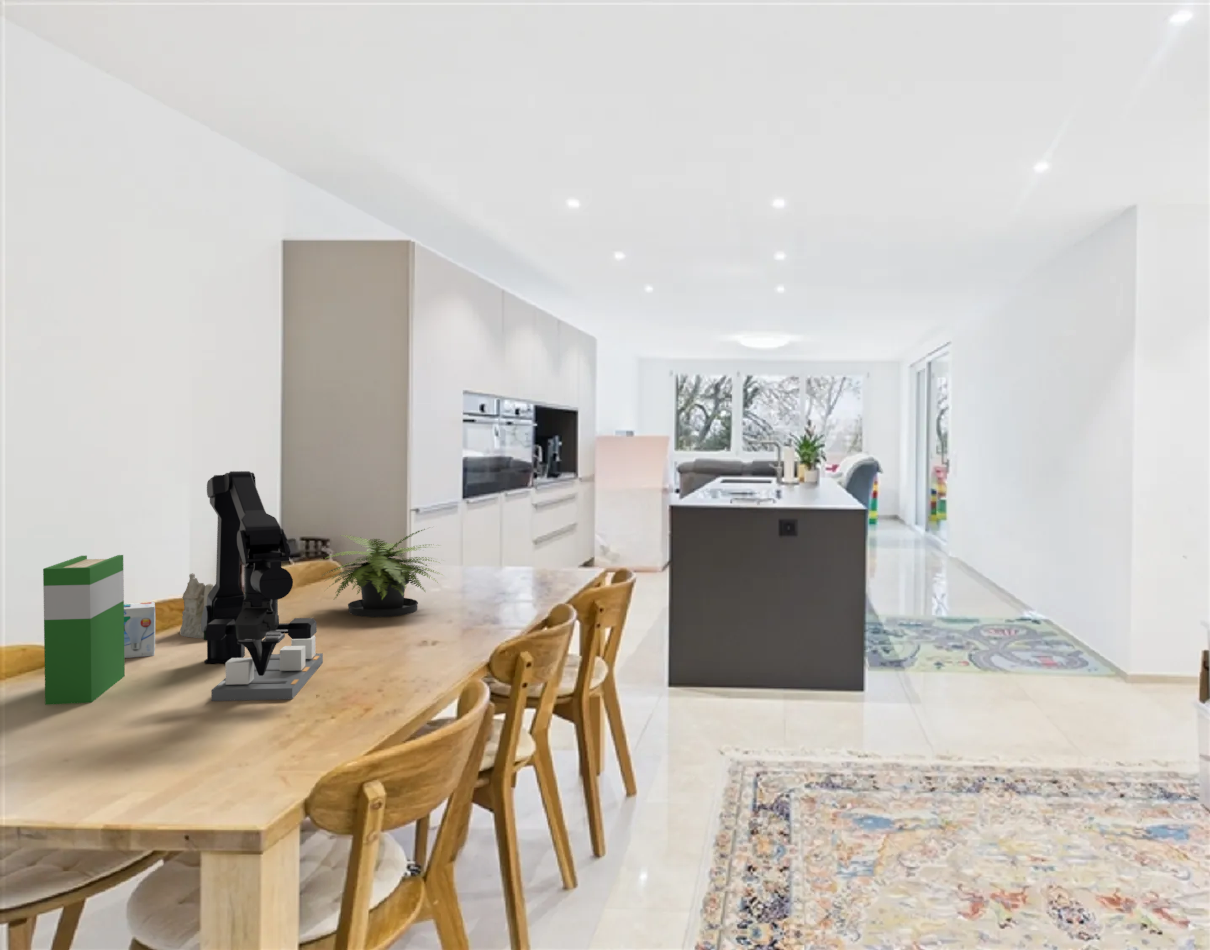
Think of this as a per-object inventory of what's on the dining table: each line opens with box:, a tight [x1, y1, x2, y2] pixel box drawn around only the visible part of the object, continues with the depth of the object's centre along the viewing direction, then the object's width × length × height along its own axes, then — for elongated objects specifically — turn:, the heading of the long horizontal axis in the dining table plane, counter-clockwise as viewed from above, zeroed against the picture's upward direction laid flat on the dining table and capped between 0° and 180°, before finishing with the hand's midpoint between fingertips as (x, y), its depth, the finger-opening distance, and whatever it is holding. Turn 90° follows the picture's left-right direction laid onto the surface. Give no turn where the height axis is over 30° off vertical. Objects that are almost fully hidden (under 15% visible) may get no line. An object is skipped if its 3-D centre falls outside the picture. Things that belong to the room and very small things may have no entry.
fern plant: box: [318, 526, 445, 618], centre depth 240 cm, size 37×39×24 cm
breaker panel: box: [210, 652, 324, 702], centre depth 170 cm, size 14×26×2 cm, turn 6°
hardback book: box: [42, 554, 126, 706], centre depth 162 cm, size 18×7×24 cm, turn 12°
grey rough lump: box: [179, 573, 214, 640], centre depth 213 cm, size 16×16×15 cm
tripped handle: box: [225, 657, 254, 685], centre depth 160 cm, size 4×4×4 cm
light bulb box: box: [124, 601, 156, 659], centre depth 189 cm, size 11×7×11 cm, turn 117°
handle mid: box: [279, 645, 305, 671], centre depth 170 cm, size 4×4×4 cm
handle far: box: [290, 635, 316, 659], centre depth 179 cm, size 4×4×4 cm
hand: (261, 675), depth 161 cm, fingers closed
